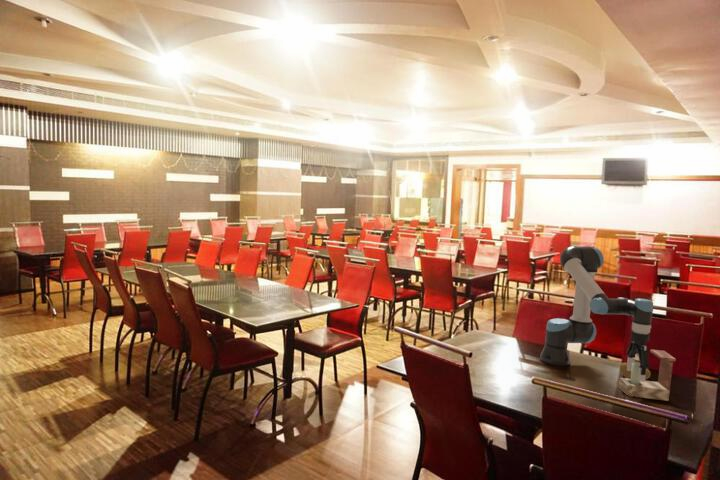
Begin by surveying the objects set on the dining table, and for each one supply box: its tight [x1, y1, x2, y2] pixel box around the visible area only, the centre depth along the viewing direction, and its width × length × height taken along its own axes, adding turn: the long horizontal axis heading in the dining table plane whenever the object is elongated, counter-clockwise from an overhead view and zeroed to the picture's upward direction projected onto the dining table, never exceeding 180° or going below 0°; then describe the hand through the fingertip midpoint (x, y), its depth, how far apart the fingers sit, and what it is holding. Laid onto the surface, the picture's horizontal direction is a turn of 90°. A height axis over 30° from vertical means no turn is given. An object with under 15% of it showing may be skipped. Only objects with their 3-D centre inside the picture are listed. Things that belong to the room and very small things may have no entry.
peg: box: [630, 363, 640, 385], centre depth 225 cm, size 4×4×14 cm
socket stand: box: [618, 349, 677, 402], centre depth 224 cm, size 18×12×20 cm, turn 80°
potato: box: [619, 362, 652, 381], centre depth 243 cm, size 10×14×8 cm
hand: (635, 376), depth 225 cm, fingers open, 13 cm apart
